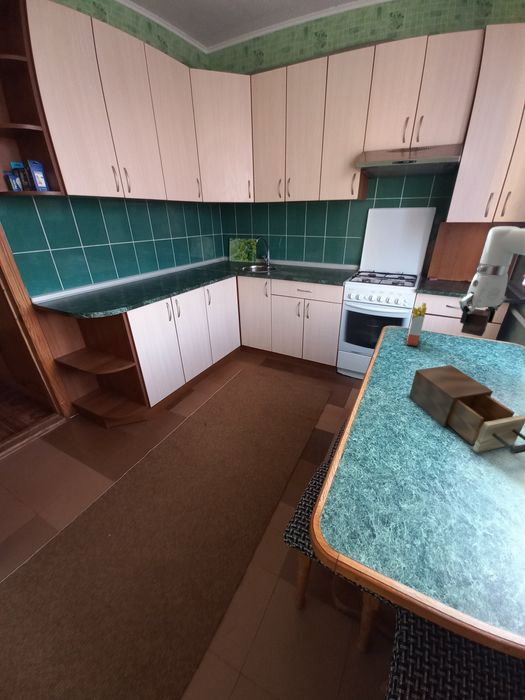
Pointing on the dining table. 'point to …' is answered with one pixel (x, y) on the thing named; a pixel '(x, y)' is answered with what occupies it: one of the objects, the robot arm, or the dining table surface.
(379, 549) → the dining table surface
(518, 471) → the dining table surface
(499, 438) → the drawer
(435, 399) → the cabinet
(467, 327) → the box
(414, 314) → the french fries container
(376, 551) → the dining table surface
